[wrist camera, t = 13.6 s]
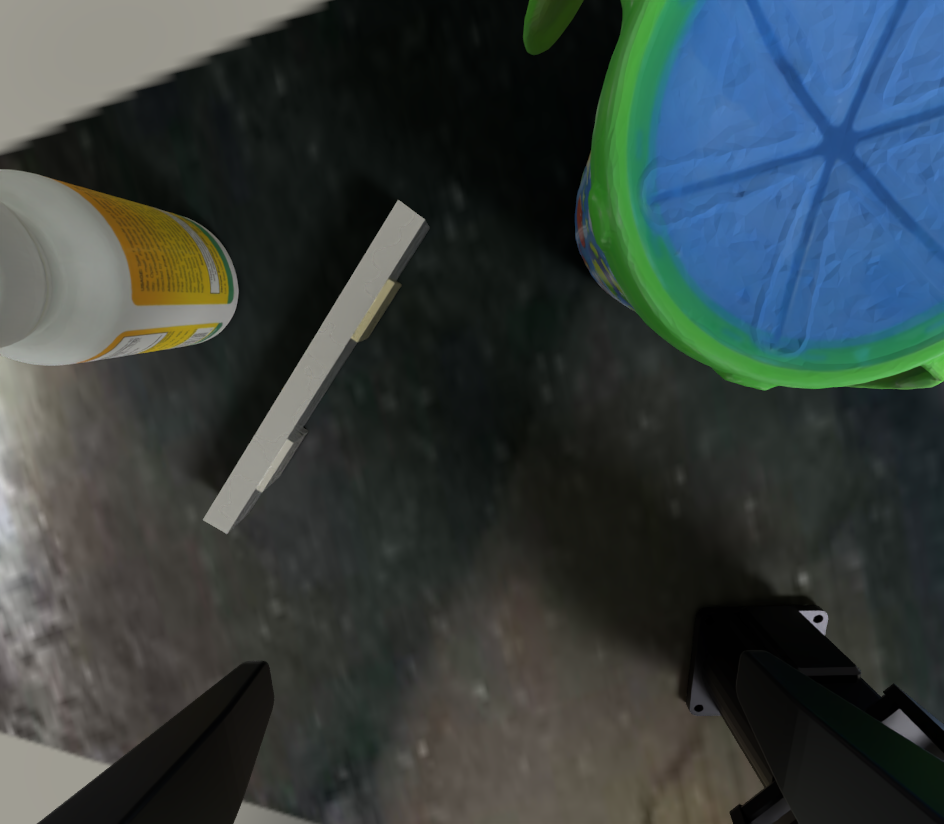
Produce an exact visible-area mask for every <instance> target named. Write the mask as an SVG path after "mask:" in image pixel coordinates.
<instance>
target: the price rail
mask: <svg viewBox="0 0 944 824" xmlns="http://www.w3.org/2000/svg"><path fill="white" fill-rule="evenodd" d="M429 229H430V227H429V226H428V224H427V222H426V220H425V219H424V218H422V217H421V216H419V215H418V214H417V213H415V212H414V211H413V210H411V209H410V208H409V207H407V206H406V205H405V204H403V203H402V202H401V201H399V200H398V201H397V202H396V204H395V206H394V207H393V209H392V211H391V212H390V214H389V215H388V217H387V219H386V220H385V222H384V224H383V225H382V227H381V229H380V230H379V232H378V234H377V235H376V237H375V238H374V240H373V242H372V243H371V245H370V247H369V248H368V250H367V252H366V253H365V255H364V256H363V258H362V260H361V261H360V263H359V265H358V266H357V268H356V270H355V271H354V273H353V275H352V276H351V278H350V279H349V281H348V283H347V284H346V286H345V288H344V289H343V291H342V293H341V294H340V296H339V297H338V299H337V301H336V302H335V304H334V306H333V307H332V309H331V311H330V312H329V314H328V316H327V317H326V319H325V320H324V322H323V324H322V325H321V327H320V329H319V330H318V332H317V334H316V335H315V337H314V338H313V340H312V342H311V343H310V345H309V347H308V348H307V350H306V352H305V353H304V355H303V357H302V358H301V360H300V361H299V363H298V365H297V366H296V368H295V370H294V371H293V373H292V375H291V376H290V378H289V379H288V381H287V383H286V384H285V386H284V388H283V389H282V391H281V393H280V394H279V396H278V398H277V399H276V401H275V402H274V404H273V406H272V407H271V409H270V411H269V412H268V414H267V416H266V417H265V419H264V420H263V422H262V424H261V425H260V427H259V429H258V430H257V432H256V434H255V435H254V437H253V439H252V440H251V442H250V443H249V445H248V447H247V448H246V450H245V452H244V453H243V455H242V457H241V458H240V460H239V461H238V463H237V465H236V466H235V468H234V470H233V471H232V473H231V475H230V476H229V478H228V480H227V481H226V483H225V484H224V486H223V488H222V489H221V491H220V493H219V494H218V496H217V498H216V499H215V501H214V502H213V504H212V506H211V507H210V509H209V511H208V512H207V514H206V516H205V517H204V519H203V520H204V521H206V522H207V523H209V524H211V525H212V526H214V527H216V528H218V529H219V530H221V531H223V532H224V533H226V534H228V533H229V532H230V531H231V530H232V529H233V528H234V527H235V526H236V525H237V524H238V523H239V522H240V521H241V520H242V519H243V518H244V517H245V516H246V515H247V514H249V512H250V511H251V509H252V507H253V506H254V504H255V503H256V501H257V500H258V498H259V496H260V495H261V493H262V492H263V491H264V490H265V489H266V488H268V487H269V486H270V485H271V484H272V483H273V482H274V481H275V480H276V479H277V478H278V477H279V476H280V475H281V473H282V472H283V470H284V468H285V467H286V465H287V464H288V462H289V461H290V459H291V458H292V456H293V454H294V453H295V451H296V450H297V448H298V447H299V445H300V443H301V442H302V440H303V439H304V437H305V436H306V434H307V433H308V430H306V429H305V428H303V427H304V425H305V424H306V422H307V421H308V419H309V418H310V416H311V414H312V413H313V411H314V410H315V408H316V407H317V405H318V403H319V402H320V400H321V399H322V397H323V396H324V394H325V392H326V391H327V389H328V388H329V386H330V385H331V383H332V381H333V380H334V378H335V377H336V375H337V374H338V372H339V370H340V369H341V367H342V366H343V364H344V362H345V361H346V359H347V358H348V356H349V355H350V353H351V351H352V350H353V348H354V347H355V345H356V344H357V342H360V341H363V340H365V339H368V337H369V336H370V334H371V332H372V331H373V329H374V328H375V326H376V325H377V323H378V321H379V320H380V318H381V317H382V315H383V314H384V312H385V310H386V309H387V307H388V306H389V304H390V303H391V301H392V300H393V298H394V296H395V295H396V293H397V292H398V290H399V289H400V287H401V284H400V283H399V282H397V279H398V277H399V276H400V274H401V273H402V271H403V270H404V268H405V266H406V265H407V263H408V262H409V260H410V259H411V257H412V255H413V254H414V252H415V251H416V249H417V248H418V246H419V244H420V243H421V241H422V240H423V238H424V236H425V235H426V233H427V232H428V230H429Z"/></svg>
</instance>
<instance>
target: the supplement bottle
mask: <svg viewBox="0 0 944 824" xmlns="http://www.w3.org/2000/svg"><path fill="white" fill-rule="evenodd" d="M238 294H239V290H238V281H237V276H236V273H235V269H234V266H233V263H232V260H231V258H230V256H229V254H228V253H227V251H226V249H225V248H224V246H223V245H222V244H221V242H220V241H219V240H218V239H217V238H216V237H215V236H214V235H213V234H212V233H211V232H210V231H209V230H207V229H206V228H205V227H203V226H202V225H200V224H198V223H197V222H195V221H193V220H191V219H189V218H186V217H183V216H180V215H177V214H174V213H170V212H167V211H163V210H160V209H157V208H154V207H150V206H147V205H143V204H139V203H136V202H132V201H129V200H125V199H122V198H118V197H115V196H111V195H108V194H104V193H100V192H97V191H94V190H90V189H87V188H83V187H80V186H76V185H72V184H69V183H65V182H62V181H58V180H55V179H52V178H48V177H45V176H42V175H38V174H34V173H29V172H24V171H18V170H7V169H0V355H1V356H4V357H7V358H9V359H13V360H16V361H20V362H24V363H29V364H35V365H46V366H57V365H68V364H75V363H83V362H90V361H96V360H102V359H109V358H115V357H122V356H127V355H133V354H139V353H146V352H153V351H159V350H165V349H171V348H177V347H183V346H189V345H194V344H198V343H202V342H204V341H207V340H209V339H211V338H213V337H214V336H216V335H217V334H219V333H220V332H221V331H222V330H223V329H224V328H225V327H226V326H227V324H228V323H229V322H230V320H231V318H232V316H233V314H234V312H235V310H236V306H237V302H238Z"/></svg>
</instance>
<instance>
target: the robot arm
mask: <svg viewBox="0 0 944 824" xmlns="http://www.w3.org/2000/svg"><path fill="white" fill-rule="evenodd" d="M708 617H710V618H709V619H708V620H705V619H706V618H708ZM827 622H828V615H827V613H826V612H825V611H824V610H823V609H821V608H820V607H819V606H815V605H803V606H755V607H707V608H702V609H701V610H699V611H698V612H697V615H696V620H695V629H694V638H693V647H692V655H691V664H690V673H689V681H688V690H687V699H686V705H687V707H688V709H689V711H690V712H691V714H693V715H696V716H713V715H721V716H722V718H723V719H724V721H725V723H726V724H727V726H728V728H729V729H730V731H731V733H732V734H733V736H734V738H735V739H736V741H737V743H738V744H739V746H740V748H741V749H742V751H743V753H744V754H745V756H746V758H747V759H748V761H749V763H750V764H751V766H752V768H753V769H754V771H755V773H756V774H757V776H758V778H759V779H760V781H761V783H762V784H763V786H764V789H763V790H761V791H760V792H759V793H758V794H756V795H755V796H754V797H752V798H751V799H750V800H749V801H747V802H746V803H745V804H744V805H741V804H739V805H737V806H736V807H735V808H734V809H732V810H731V811H730V815H731V819H732V822H733V824H944V724H942V723H941V722H940V721H939V720H937V719H936V718H935V717H934V716H933V715H931V714H930V713H929V712H928V711H927V710H925V709H924V708H923V707H922V706H921V705H919V704H918V703H917V702H916V701H914V700H913V699H912V698H911V697H910V696H908V695H907V694H906V693H905V692H904V691H902V690H901V689H900V688H899V687H898V686H896V685H895V684H894V683H893V684H892V685H891V686H890V687H888V688H887V689H886V690H884V691H883V693H884V694H885V695H883V696H882V697H881V696H880V695H878V694H877V693H876V692H875V691H874V690H873V689H872V688H871V687H870V686H869V685H868V684H867V683H866V682H865V681H864V680H863V679H862V678H861V677H860V676H861V671H860V669H859V668H858V667H857V666H856V665H855V664H854V663H853V662H852V661H851V660H850V659H849V658H848V657H846V656H845V655H844V654H843V653H842V652H841V651H840V650H839V649H838V648H837V647H836V646H835V645H834V644H833V643H832V642H831V641H830V640H829V639H828V638H827V637H826V636H825V632H826V627H827ZM273 704H274V692H273V686H272V680H271V674H270V668H269V665H268V663H267V662H265V661H247V662H244V663H242V664H241V665H239V666H238V667H237V668H235V669H234V670H233V671H232V672H230V673H229V674H228V675H227V676H225V677H224V678H223V679H221V680H220V681H219V682H218V683H216V684H215V685H214V686H212V687H211V688H210V689H209V690H207V691H206V692H205V693H203V694H202V695H201V696H200V697H198V698H197V699H196V700H195V701H193V702H192V703H191V704H189V705H188V706H187V707H186V708H184V709H183V710H182V711H180V712H179V713H178V714H177V715H175V716H174V717H173V718H172V719H170V720H169V721H168V722H166V723H165V724H164V725H163V726H161V727H160V728H159V729H157V730H156V731H155V732H154V733H152V734H151V735H150V736H149V737H147V738H146V739H145V740H143V741H142V742H141V743H140V744H138V745H137V746H136V747H134V748H133V749H132V750H131V751H129V752H128V753H127V754H125V755H124V756H123V757H122V758H120V759H119V760H118V761H117V762H115V763H114V764H113V765H111V766H110V767H109V768H108V769H106V770H105V771H104V772H102V773H101V774H100V775H99V776H97V777H96V778H95V779H94V780H92V781H91V782H90V783H88V784H87V785H86V786H85V787H83V788H82V789H81V790H79V791H78V792H77V793H76V794H74V795H73V796H72V797H71V798H69V799H68V800H67V801H65V802H64V803H63V804H62V805H60V806H59V807H58V808H56V809H55V810H54V811H53V812H51V813H50V814H49V815H48V816H46V817H45V818H44V819H43V820H41V821H40V822H39V823H37V824H233V823H234V820H235V818H236V816H237V813H238V811H239V808H240V806H241V803H242V800H243V798H244V795H245V792H246V789H247V786H248V783H249V780H250V777H251V774H252V771H253V767H254V764H255V761H256V758H257V755H258V752H259V749H260V746H261V743H262V740H263V737H264V734H265V731H266V728H267V724H268V721H269V718H270V715H271V712H272V709H273Z"/></svg>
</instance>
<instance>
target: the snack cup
mask: <svg viewBox="0 0 944 824" xmlns="http://www.w3.org/2000/svg"><path fill="white" fill-rule="evenodd" d="M583 1H584V0H529V4H528V8H527V12H526V16H525V20H524V32H523V41H524V45H525V48H526V51H527V52H528V53H530V54H532V55H537V54H540V53H542V52H544V51H546V50H548V49H549V48H550V47H551V46H552V45H553V44H554V43H555V42H556V41H557V40H558V38H559V37H560V36H561V34H562V33H563V32H564V30H565V29H566V28H567V26H568V25H569V23H570V22H571V21H572V19H573V18H574V16H575V14H576V13H577V11H578V9H579V8H580V6H581V4H582V2H583ZM621 4H622V9H623V19H622V27H621V33H620V37H619V40H618V42H617V45H616V47H615V50H614V52H613V55H612V57H611V60H610V64H609V67H608V70H607V73H606V76H605V80H604V84H603V88H602V91H601V95H600V99H599V103H598V107H597V111H596V119H595V125H594V130H593V135H592V147H591V152H590V155H589V158H588V161H587V165H586V167H585V169H584V172H583V175H582V179H581V184H580V187H579V190H578V193H577V198H576V209H575V239H576V242H577V246H578V249H579V252H580V255H581V256H582V258H583V260H584V263H585V265H586V267H587V268H588V270H589V272H590V274H591V276H592V277H593V278H594V279H595V281H596V282H597V283H598V284H599V286H600V287H601V288H602V289H604V290H605V291H606V292H607V293H608V294H609V295H611V296H612V297H613V298H615V299H616V300H618V301H619V302H621V303H622V304H624V305H625V306H627V307H628V308H630V309H632V310H633V311H635V312H637V314H638V315H639V316H640V317H641V318H642V320H643V321H644V322H645V323H646V324H647V325H648V326H649V327H650V328H651V329H652V330H654V331H655V332H656V333H657V334H658V335H660V336H661V337H662V338H663V339H665V340H666V341H667V342H668V343H670V344H671V345H672V346H674V347H675V348H677V349H678V350H680V351H681V352H683V353H685V354H686V355H688V356H690V357H692V358H693V359H695V360H697V361H699V362H701V363H703V364H705V365H708V366H710V367H712V368H713V369H714V371H715V372H716V373H718V374H719V375H720V376H721V377H722V378H723V379H725V380H727V381H731V382H734V383H737V384H740V385H744V386H748V387H752V388H756V389H760V390H768V389H770V388H772V387H775V386H786V387H793V388H812V389H819V388H828V387H843V386H847V387H856V388H876V389H915V388H928V387H933V386H935V385H937V384H939V383H941V382H943V381H944V0H621Z"/></svg>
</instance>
